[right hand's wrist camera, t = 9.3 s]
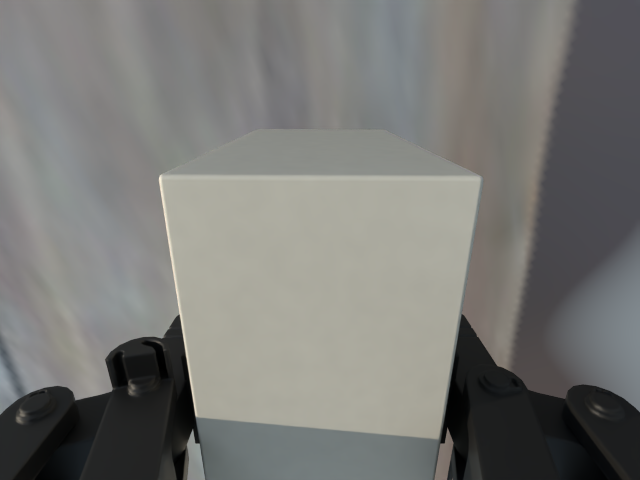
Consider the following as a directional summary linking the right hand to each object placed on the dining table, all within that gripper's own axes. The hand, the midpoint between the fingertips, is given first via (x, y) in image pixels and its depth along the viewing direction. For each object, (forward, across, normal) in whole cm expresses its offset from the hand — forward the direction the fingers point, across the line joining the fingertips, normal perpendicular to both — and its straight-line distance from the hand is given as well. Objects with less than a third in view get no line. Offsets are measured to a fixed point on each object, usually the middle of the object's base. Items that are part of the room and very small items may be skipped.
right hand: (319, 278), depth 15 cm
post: (+1, 0, -29) cm, 29 cm away
